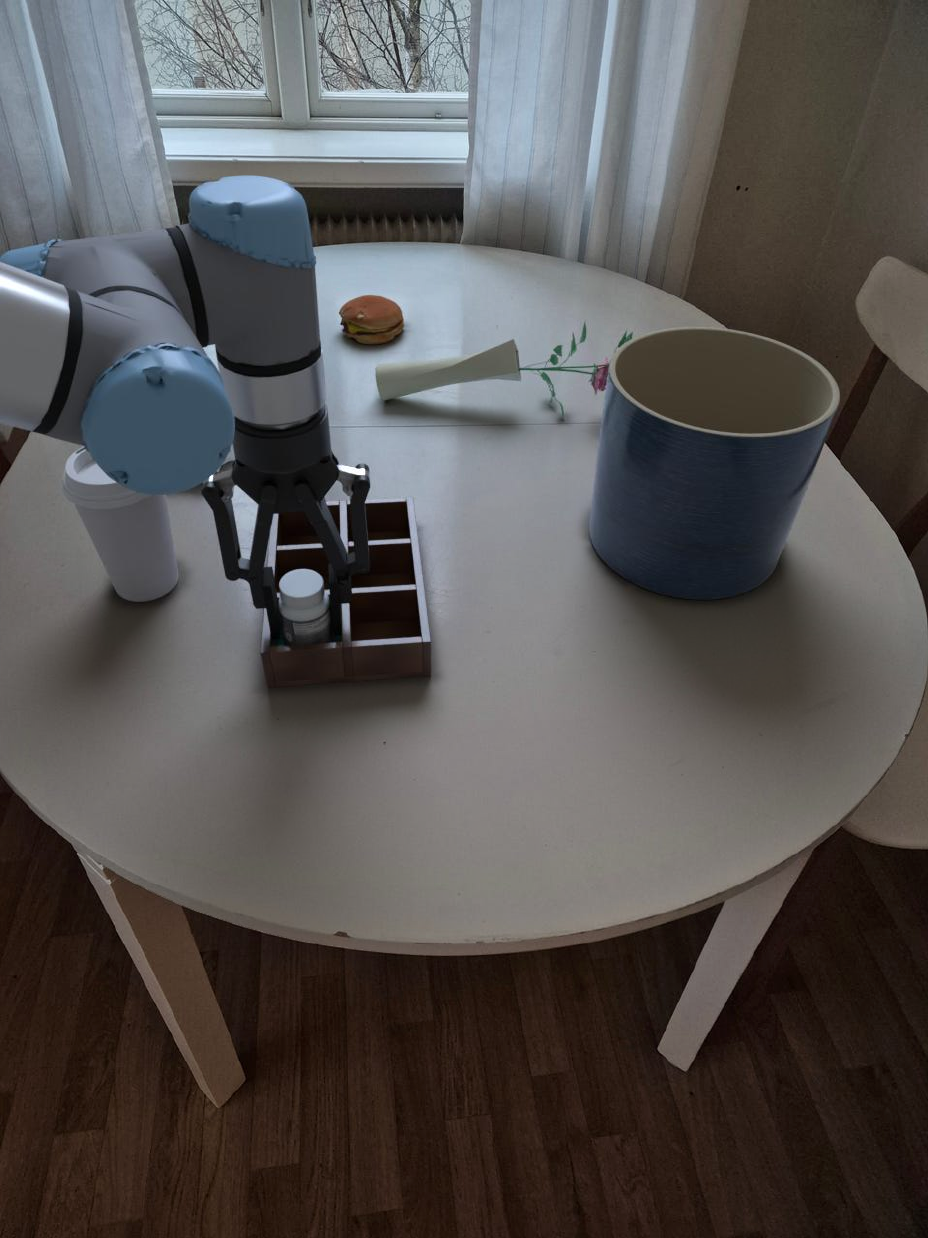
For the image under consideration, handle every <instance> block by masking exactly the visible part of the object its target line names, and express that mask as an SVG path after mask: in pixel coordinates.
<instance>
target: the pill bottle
mask: <svg viewBox="0 0 928 1238" xmlns="http://www.w3.org/2000/svg"><path fill="white" fill-rule="evenodd" d="M279 591H280V598H279V601H278V609H279V614H280V620H281V625H282V632H283V637H284V642H285V646H288V645H303V644H318V643H334V634H333V625H332V616H331V608H330V599H329V596H328V594H327V592H326V591H325V589H324V582H323V579H322V577H321V576H320V574H318V573H317V572H315V571H313V570H309V569H297V570H293V571H291V572H288V573H287V574H285V575H284V576H283V577H282V578H281V580H280V582H279Z"/></svg>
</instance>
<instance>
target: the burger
mask: <svg viewBox="0 0 928 1238" xmlns="http://www.w3.org/2000/svg"><path fill="white" fill-rule="evenodd" d="M338 315H339V316H340V318H341V320H340V323H339V325H340V326H342V327H343V328H341V331H342V333H344V334H345V335H346V336H347V337H348V338H350V339H355V341H356V342H358V343H359V344H363V345H379V344H380V345H382V344H385V343H388V342H389V341H392V340H393V339H394V338H395V336H398V335H399V334H401V333H402V331H403V329H404V328H405V322H404V319H405V318H404V315H403V311H402V308H401V306H400V305H399V304H398V303H397V302H395V301H393V300H392V299H390V298H387V297H384V296H383V295H373V294H364V295H360V296H358V297H355V298H352V299H350V300H348V301H346V302H345V303H344V304H343V305H341V307H340V309H339V311H338Z"/></svg>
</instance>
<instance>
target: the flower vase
mask: <svg viewBox="0 0 928 1238" xmlns="http://www.w3.org/2000/svg"><path fill="white" fill-rule="evenodd" d="M627 332H628V330H627V329H625V331H624V333H623V335H622V337H621V339H620V340H619V342H618V344H617V347H615V348H614V351H613V354H614V353H615V352H616V350H617V349H618V348H619V347H621V346H622V345H623V344H624V343H626V342H628V341H629V340H631V339H633V335H634V331H631V332H630V333H629V334H628V333H627ZM627 334H628V335H627ZM586 338H587V325H586V321H584V323H583V327H582V330H581V336H580V339H579V342H578V343H577V344H576V337H575V334H574V332H572V340H571V344H570V351H569V353H568V356H567V358H565V360H564V361H563V362H562V363H561V364H560V365H559V366H557V365H558V364H559V357H561V358H562V357H563V352H562V351H563V344H559V345H556V346H555V347H554V348H553V349H552V351H553V352H554V353H555V354H554V353H553V354H551V355H550V357H549V359H548V360H547V361H543V362H539V363H534V364H530V365H527V366H524V367H521V366H520V365H521V364H520V356H519V348H518V346H517V344H516V341H515V339H514V338H513V339H510V340H508V341H506V342H503V343H501V344H498V345H497V346H494V347H492V348H488V349H485V350H483V351H479V352H475V353H474V352H473V353H470V354H465V355H459V356H453V357H448V358H441V359H433V360H431V359H430V360H418V361H417V360H414V361H403V362H391V363H380V364H376V366H375V375H374V376H375V383H376V388H377V392H378V395H379V397H380V400H381V401H388V400H393V399H396V398H401V397H405V396H408V395H412V394H413V395H414V394H417V393H421V392H425V391H429V390H432V389H436V388H441V387H447V386H451V385H459V384H466V383H472V382H473V383H474V382H480V381H492V380H493V381H494V380H497V381H499V380H501V381H514V382H522V375H521V371H537V372H538V373H535V372H534V375H538V376H540V378H541V379H542V381H545V382H546V384H547V386H548V388H549V391H550V394H551V396H550V399H549V402H548V404H552V402H553V398H554V400H555V401H556V402H558V404H559V406H560V410H561V415H562V421H565V419H564V417H565V412H564V406H563V404H562V402H560V401H559V400H557V398H556V397H555V396H556V392H555V385H554V384H553V383H552V380H551V378H550V377H549V375H548V374H547V373H546V372H545V371H548V372H549V371H551V372H552V371H553V372H569V373H579V374H584V375H591V377H590V378H589V380H588V381H587V382H588V383H590V385H591V387H592V388H593V391H594V396H596V395H597V394H598V392H604V391H606V384H607V376H608V369H609V363H610V360H608V357H605V359H604V360H603V361H601V362H600V363H598V364H596V363H595V362H594V363H593V364H592V365H572V366H570V365H568V366H562V365H563V364H565V363H566V362H567V361H568V360H569V358H570V357H572V356H573V355H574V354H575V353H576V352H577V350H578V349H577V348H578V347H577V345H579V344H581V343H584V342H585V341H586ZM558 356H559V357H558ZM549 362H550V363H551V364H552V365H553V366H549V367H547V364H548V363H549ZM540 364H545V365H544V367H531V366H535V365H540ZM591 368H593V371H587V370H586V371H585V370H580V369H591ZM540 371H542V372H540Z"/></svg>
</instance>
